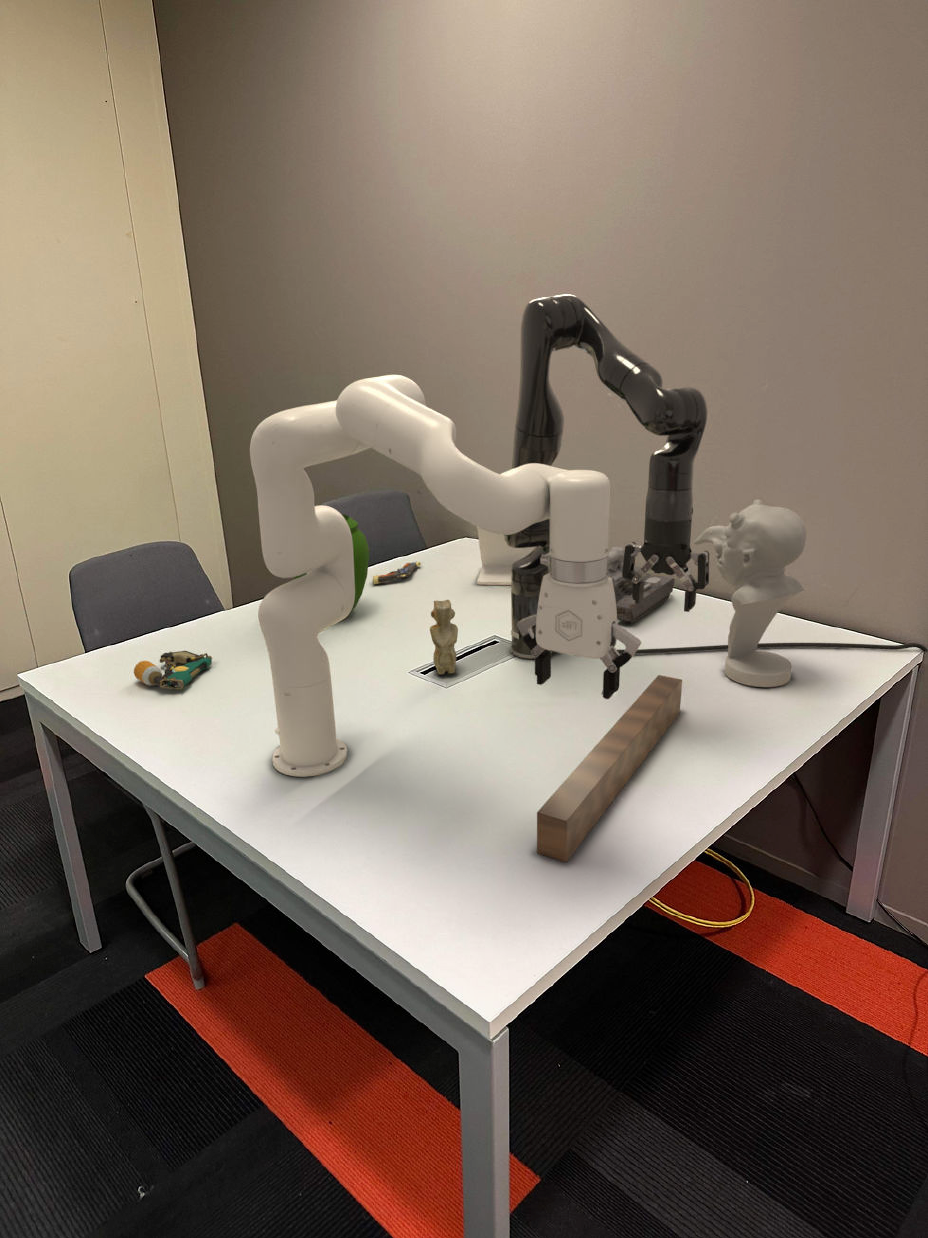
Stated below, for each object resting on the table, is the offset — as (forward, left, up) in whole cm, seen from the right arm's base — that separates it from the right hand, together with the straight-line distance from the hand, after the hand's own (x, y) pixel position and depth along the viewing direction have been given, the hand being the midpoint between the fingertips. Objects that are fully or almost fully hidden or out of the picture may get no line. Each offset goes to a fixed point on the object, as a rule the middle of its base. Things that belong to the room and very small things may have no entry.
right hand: (663, 606), depth 146 cm
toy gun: (+34, -102, -23) cm, 110 cm away
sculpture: (+32, -34, -23) cm, 52 cm away
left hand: (+25, +27, 0) cm, 37 cm away
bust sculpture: (-26, -18, -23) cm, 39 cm away
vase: (+53, -75, -23) cm, 95 cm away
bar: (+12, +13, -23) cm, 29 cm away
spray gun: (+88, -46, -23) cm, 102 cm away
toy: (-16, -63, -23) cm, 69 cm away
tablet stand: (-1, -92, -23) cm, 95 cm away
